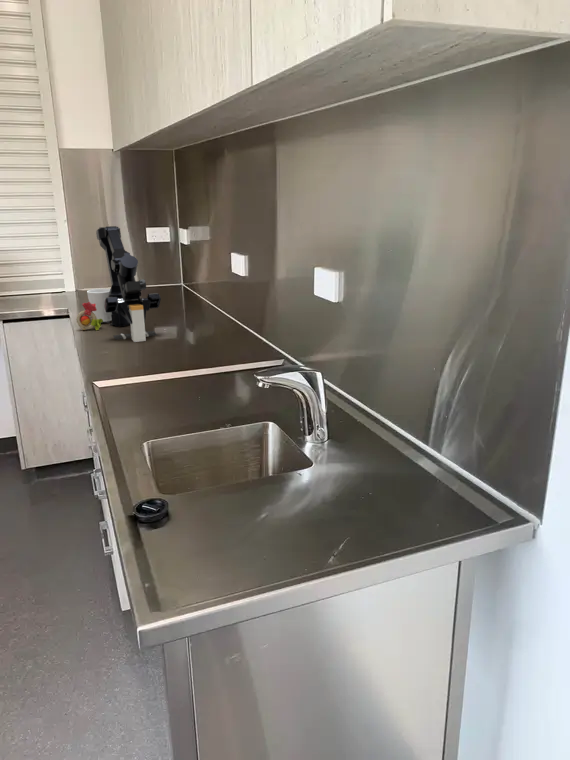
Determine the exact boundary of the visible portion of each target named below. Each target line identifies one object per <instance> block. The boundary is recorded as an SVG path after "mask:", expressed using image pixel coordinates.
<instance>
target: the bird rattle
mask: <svg viewBox="0 0 570 760" xmlns="http://www.w3.org/2000/svg"><path fill="white" fill-rule="evenodd" d="M82 306H83V308H84V309H83V310H82V311H79V313H77V316H76V323H77V325H78V326H79V327H80V328H81V330H82V329H83V330H85V331H86V330H91V329H94V328H95V329H94V330H95V331H97V330H98V331H99V329H100V328H101V327H102V324H101V322H103V320H102V319H97V318H96V316H95V314H94V313H93V312H92V311H96V310H97V309H96V304H91V303H90V302H89V301H88V302H82ZM103 323H104V322H103ZM83 330H82V331H83Z"/></svg>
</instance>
